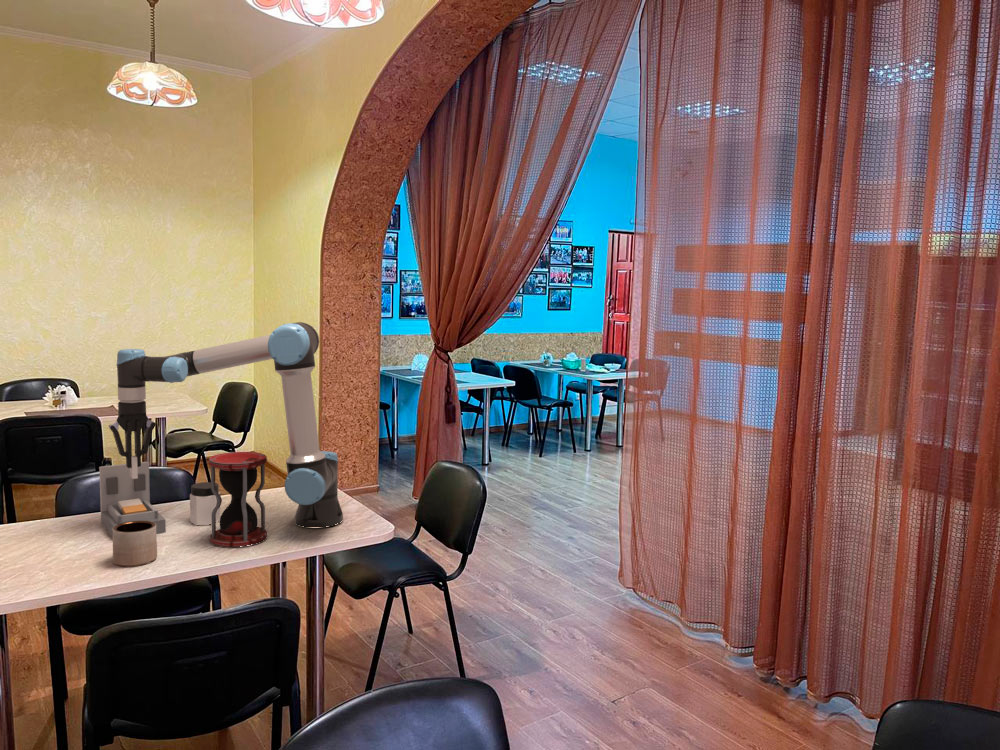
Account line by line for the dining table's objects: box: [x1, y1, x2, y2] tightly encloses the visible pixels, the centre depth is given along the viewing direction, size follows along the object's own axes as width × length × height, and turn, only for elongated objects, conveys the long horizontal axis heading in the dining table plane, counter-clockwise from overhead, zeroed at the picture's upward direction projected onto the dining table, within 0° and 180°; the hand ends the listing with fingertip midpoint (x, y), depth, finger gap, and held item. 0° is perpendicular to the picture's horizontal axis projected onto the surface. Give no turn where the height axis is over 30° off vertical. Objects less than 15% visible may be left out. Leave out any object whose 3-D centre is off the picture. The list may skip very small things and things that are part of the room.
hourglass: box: [208, 451, 268, 548], centre depth 225 cm, size 16×16×25 cm
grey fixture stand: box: [98, 461, 167, 538], centre depth 234 cm, size 20×14×18 cm
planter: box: [112, 521, 158, 567], centre depth 207 cm, size 11×11×10 cm
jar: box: [189, 481, 221, 526], centre depth 241 cm, size 9×8×12 cm
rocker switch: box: [118, 499, 147, 515], centre depth 234 cm, size 10×6×2 cm, turn 38°
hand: (133, 477), depth 230 cm, fingers closed
